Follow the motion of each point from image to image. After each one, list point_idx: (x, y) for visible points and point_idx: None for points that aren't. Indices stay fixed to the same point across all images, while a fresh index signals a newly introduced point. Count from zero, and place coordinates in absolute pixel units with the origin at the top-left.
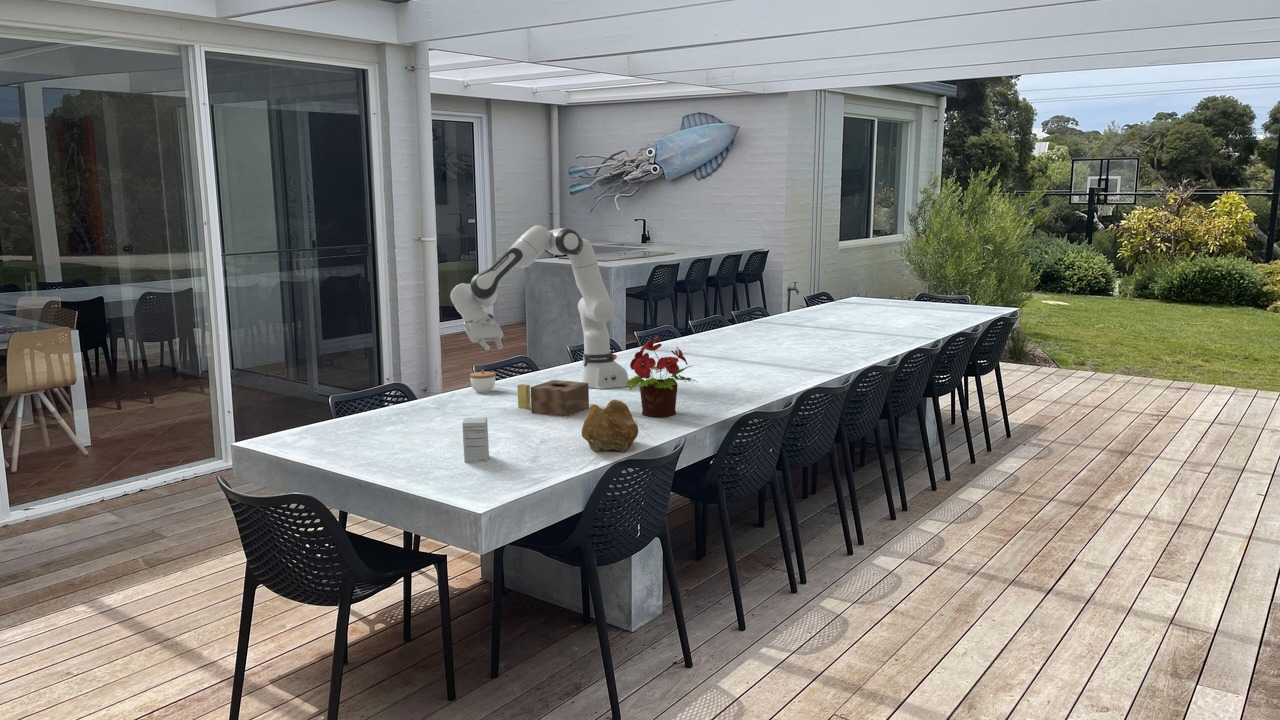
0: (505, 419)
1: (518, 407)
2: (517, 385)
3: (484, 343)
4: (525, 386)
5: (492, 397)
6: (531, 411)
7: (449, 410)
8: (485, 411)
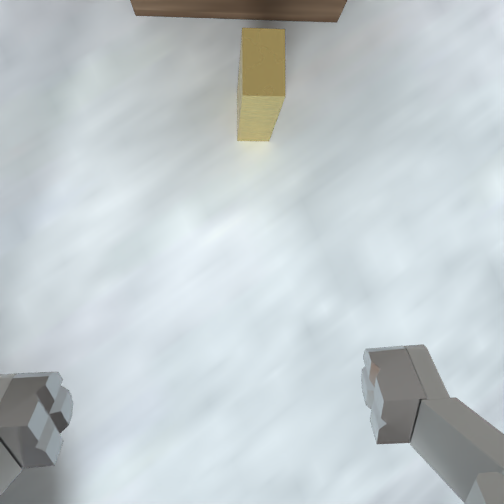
0: (488, 63)
1: (269, 139)
2: (284, 96)
3: (491, 432)
4: (284, 34)
5: (103, 420)
6: (338, 17)
7: None
8: (394, 245)
